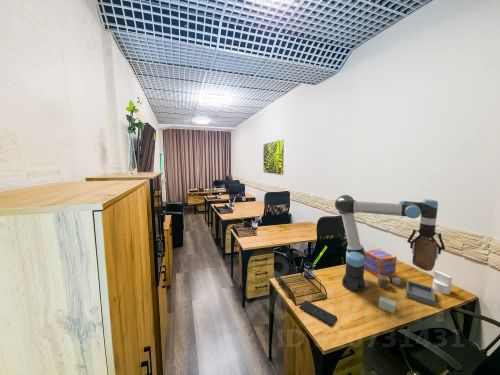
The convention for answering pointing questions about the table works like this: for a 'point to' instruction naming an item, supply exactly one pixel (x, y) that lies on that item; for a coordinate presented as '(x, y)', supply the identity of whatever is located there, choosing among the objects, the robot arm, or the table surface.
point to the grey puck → (396, 281)
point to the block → (424, 253)
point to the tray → (420, 293)
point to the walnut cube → (384, 281)
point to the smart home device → (318, 313)
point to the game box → (380, 263)
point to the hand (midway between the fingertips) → (424, 255)
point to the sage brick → (387, 304)
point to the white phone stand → (442, 282)
